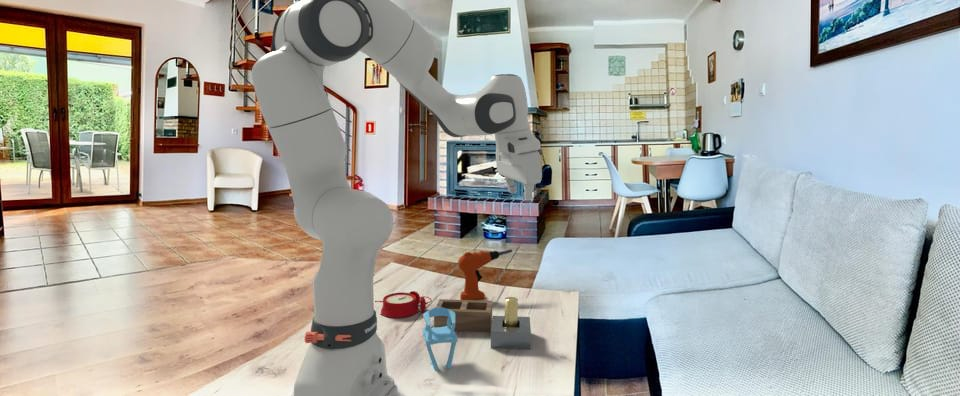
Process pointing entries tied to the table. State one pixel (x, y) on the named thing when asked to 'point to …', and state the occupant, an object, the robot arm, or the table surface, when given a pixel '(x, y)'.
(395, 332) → the table surface
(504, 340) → the socket block
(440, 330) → the chair
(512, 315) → the gold rounded rod
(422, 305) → the alarm clock
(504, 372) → the table surface
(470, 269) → the toy drill
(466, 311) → the box
